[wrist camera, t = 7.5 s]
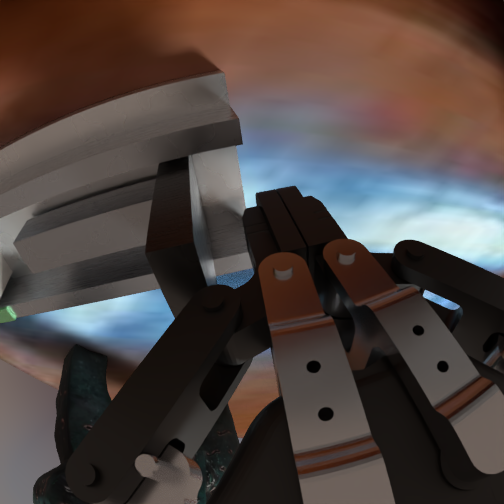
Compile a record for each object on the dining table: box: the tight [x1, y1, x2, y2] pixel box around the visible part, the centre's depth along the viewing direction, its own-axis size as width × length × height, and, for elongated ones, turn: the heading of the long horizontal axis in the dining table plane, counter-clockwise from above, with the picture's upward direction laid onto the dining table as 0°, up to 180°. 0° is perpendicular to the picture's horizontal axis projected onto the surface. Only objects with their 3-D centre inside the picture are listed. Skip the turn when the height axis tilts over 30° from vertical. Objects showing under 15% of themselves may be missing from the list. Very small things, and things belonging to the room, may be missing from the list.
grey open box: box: [0, 70, 253, 323], centre depth 12 cm, size 20×10×6 cm, turn 97°
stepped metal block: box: [13, 155, 217, 318], centre depth 11 cm, size 9×4×7 cm, turn 97°
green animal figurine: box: [33, 345, 240, 504], centre depth 19 cm, size 20×6×20 cm, turn 44°
